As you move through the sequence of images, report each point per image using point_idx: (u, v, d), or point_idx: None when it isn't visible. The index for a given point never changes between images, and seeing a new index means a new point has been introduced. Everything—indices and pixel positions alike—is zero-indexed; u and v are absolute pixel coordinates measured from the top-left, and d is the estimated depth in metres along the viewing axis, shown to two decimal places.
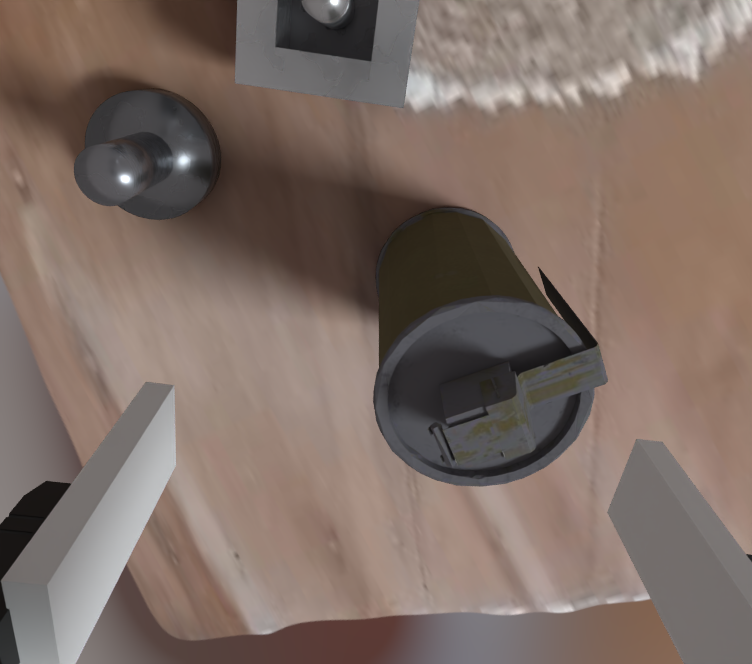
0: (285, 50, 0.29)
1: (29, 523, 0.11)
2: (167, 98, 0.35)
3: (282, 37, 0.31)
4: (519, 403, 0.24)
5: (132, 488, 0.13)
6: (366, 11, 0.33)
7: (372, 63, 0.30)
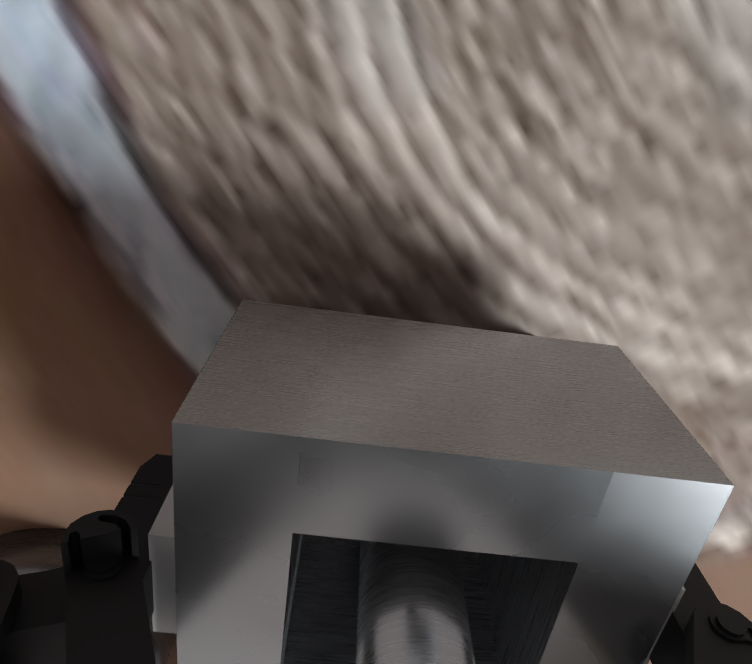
0: None
1: (151, 490, 0.13)
2: None
3: (292, 604, 0.14)
4: None
5: None
6: None
7: None
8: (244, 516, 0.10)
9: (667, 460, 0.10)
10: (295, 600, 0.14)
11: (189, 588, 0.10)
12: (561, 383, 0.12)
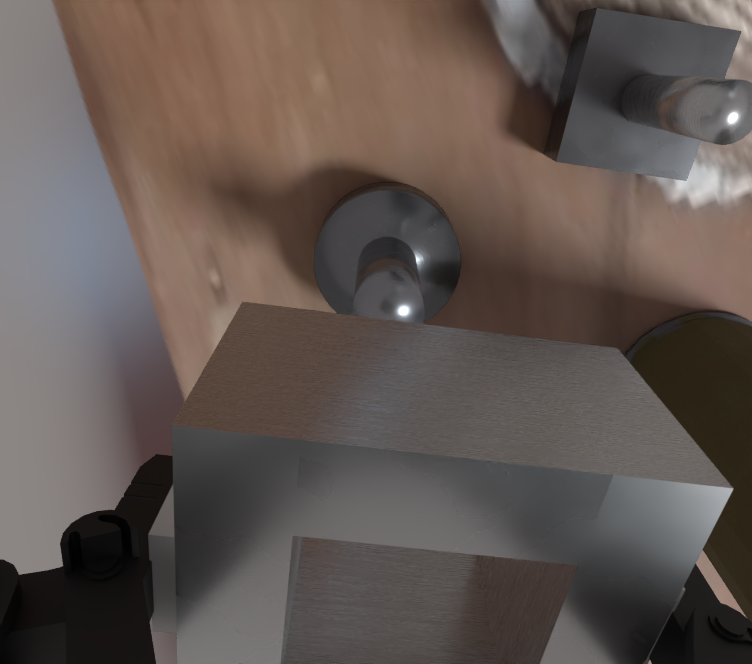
0: None
1: (151, 490, 0.13)
2: (421, 200, 0.30)
3: (292, 606, 0.14)
4: None
5: None
6: None
7: None
8: (244, 518, 0.10)
9: (667, 463, 0.10)
10: (295, 602, 0.14)
11: (189, 590, 0.10)
12: (561, 385, 0.12)
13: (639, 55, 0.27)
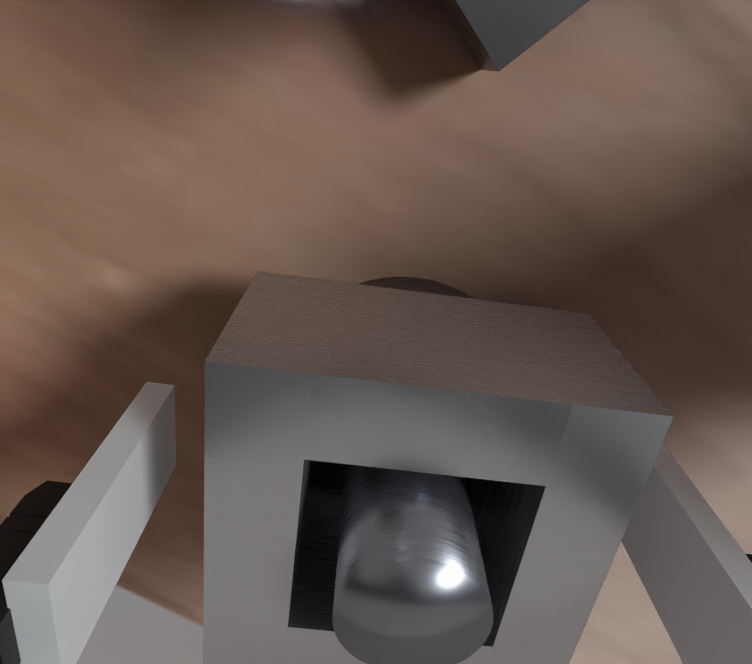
0: (309, 631, 0.14)
1: (30, 523, 0.11)
2: None
3: (301, 540, 0.15)
4: None
5: (133, 488, 0.13)
6: None
7: (494, 649, 0.14)
8: (263, 444, 0.11)
9: (619, 397, 0.11)
10: (303, 540, 0.16)
11: (215, 510, 0.12)
12: (535, 340, 0.13)
13: None
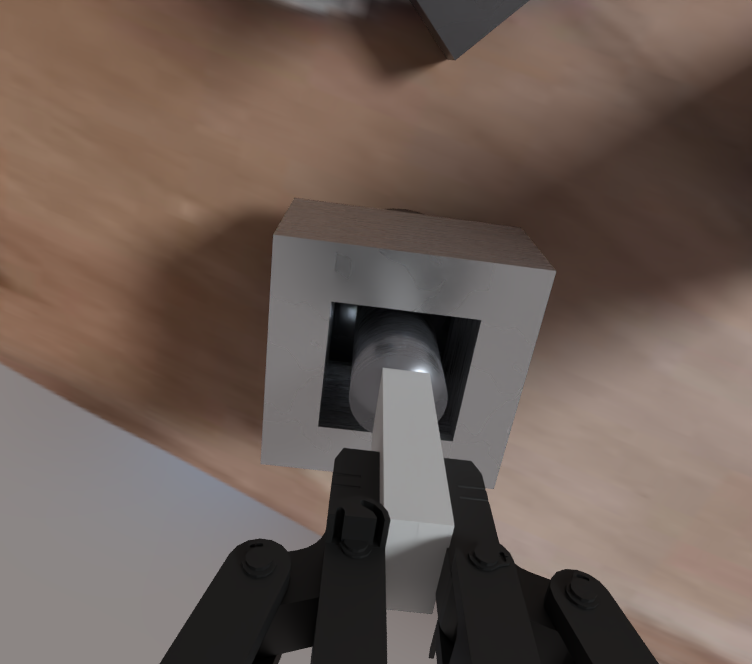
0: (332, 429, 0.21)
1: (353, 480, 0.14)
2: None
3: (324, 383, 0.23)
4: None
5: None
6: None
7: (454, 443, 0.21)
8: (306, 290, 0.19)
9: (525, 262, 0.19)
10: (325, 387, 0.23)
11: (274, 337, 0.19)
12: (479, 237, 0.21)
13: None
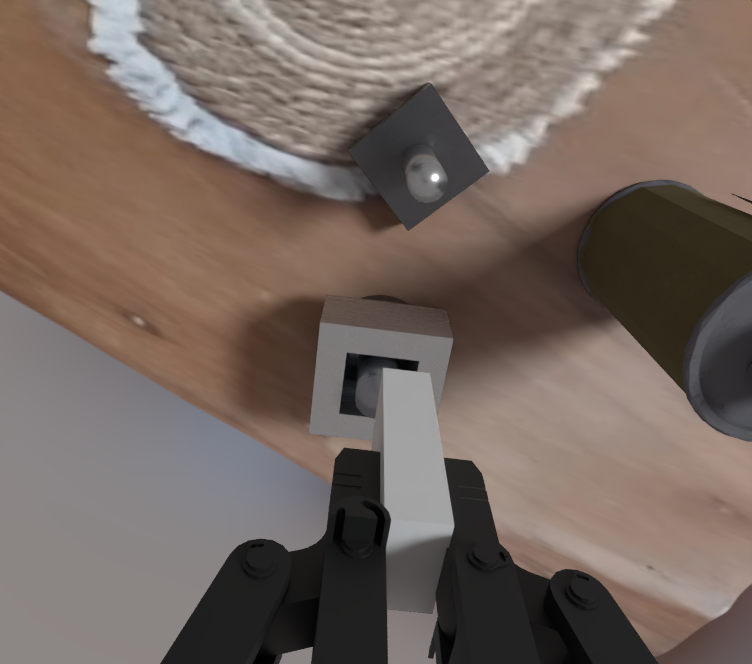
0: (346, 415, 0.41)
1: (354, 480, 0.14)
2: None
3: None
4: None
5: None
6: (440, 143, 0.38)
7: None
8: (335, 347, 0.39)
9: (440, 333, 0.39)
10: (342, 393, 0.43)
11: (318, 369, 0.39)
12: (420, 318, 0.41)
13: (392, 147, 0.38)
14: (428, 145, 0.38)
